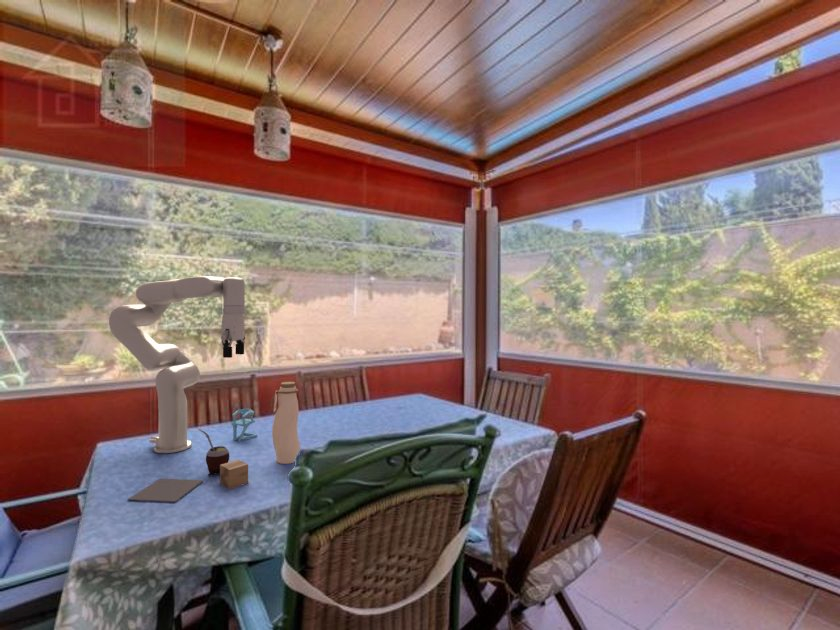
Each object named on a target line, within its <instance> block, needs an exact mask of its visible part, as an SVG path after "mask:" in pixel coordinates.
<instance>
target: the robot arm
mask: <svg viewBox="0 0 840 630" xmlns="http://www.w3.org/2000/svg"><path fill="white" fill-rule="evenodd" d="M245 285H246V284H245V280H244V279H243V278H241V277H225V278H224V277H218V276H209V275H207V276H205V275H201V276H192V277H183V278H178V279H171V280H161V281H153V282H152V281H151V282H146V283H143V284H141V285H139V286H138V287H137V288H136V290H135V297H136V299H137V300H138V301H139V302H141V303H143V304H127V305H126V304H124V305H120V306H117V307H115V308H114V309H113V310H112V311H111V312H110V314H109V317H108V326H109V330H110V332H111V334H112V335H113V337H114V338H115V339H116V340H117V341H118V342H119V343H121V345H123V346H124V347H125V348H126V349H127V350H128V351H129V353H131V354H132V356H133V357H134V358H135V359H136V360H137V361H138V362H139V363H140V365H142V367H144V368H145V369H147V370H148V371H158V373H157V374H156V377H155V381H154V382H155V387H156V392H157V393H156V394H157V401H158V405H157V409H158V436H157V435H153V436H151V437H149V438H150V439H149V444H155V445H154V446H153V452H155V453H156V454H157V453H158V454H174V453H178V452H182V451H186V450H188V449H190V448H191V447H192V441H191V440H188V401H187V400H188V398H187V396H186V393H185V390H184V389H186V388H188V387H191V386H194V385H195V384H197V382H199V380H200V378H201V373H200V369H199V368H198V366H197V364H195V363H194V361H192V359H191V358H190V357H189V356H188V355H187V354H186V353H185V352H184V351H183V350H182V349H181V348H180V347H178V346H177V345H175V344H171V343H163V344H159V343H157V342H156V341H155V340H154V339H153V337H151V336H150V335H149V334H148V333H146V332H145V331H144V330H142V329H141V328H139V327H148V326H151V325H153V324H156V323H157V321H158V320H159V319H160V318H161V317H162V316H163V314H164V313H165V312H166V311H167V309H168V308H169V307H170V306H171V304H173V303H180V302H181V303H182V302H184V300H185V299H193V298H207V297H208V298H209V297H210V298H220V297H221V298H222V317H221V326H220V327H221V328H220V340H221V345H222V358H225V359H229V358H230V359H232V358H233V346H232V345H233V342H236V343H235V355H244V354H245V343H246V341H245V339H246V333H247V332H246V331H245V328H246V327H245V316H244V315H246V314H245V312H246V311H245V310H246V309H245V308H246V307H245V301H246V300H245V297H246V296H245V291H246V289H245V288H246V287H245ZM159 370H160V371H159Z"/></svg>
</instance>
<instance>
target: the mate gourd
mask: <svg viewBox="0 0 840 630" xmlns="http://www.w3.org/2000/svg"><path fill="white" fill-rule="evenodd" d="M198 431H200V432H201V433H202V434H204V435H205V437H206V438H207V441H208V443H209V444H210V445H209V446H210V449H208V451H207V452H206V455H205V462H206V466H207V470H208V471H207V472H208V474H207V476H209V477H210V476H214V475H216V474H218V475H220V465H221V464H225V463H228V462H230V452H229V449H228V447H226V446H223V445H219V446H214V445H213V443H212V441H211V438H210V435H209V434H208V433H207V432H206V431H204V430H202V429H200V428H199V429H198Z"/></svg>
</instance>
